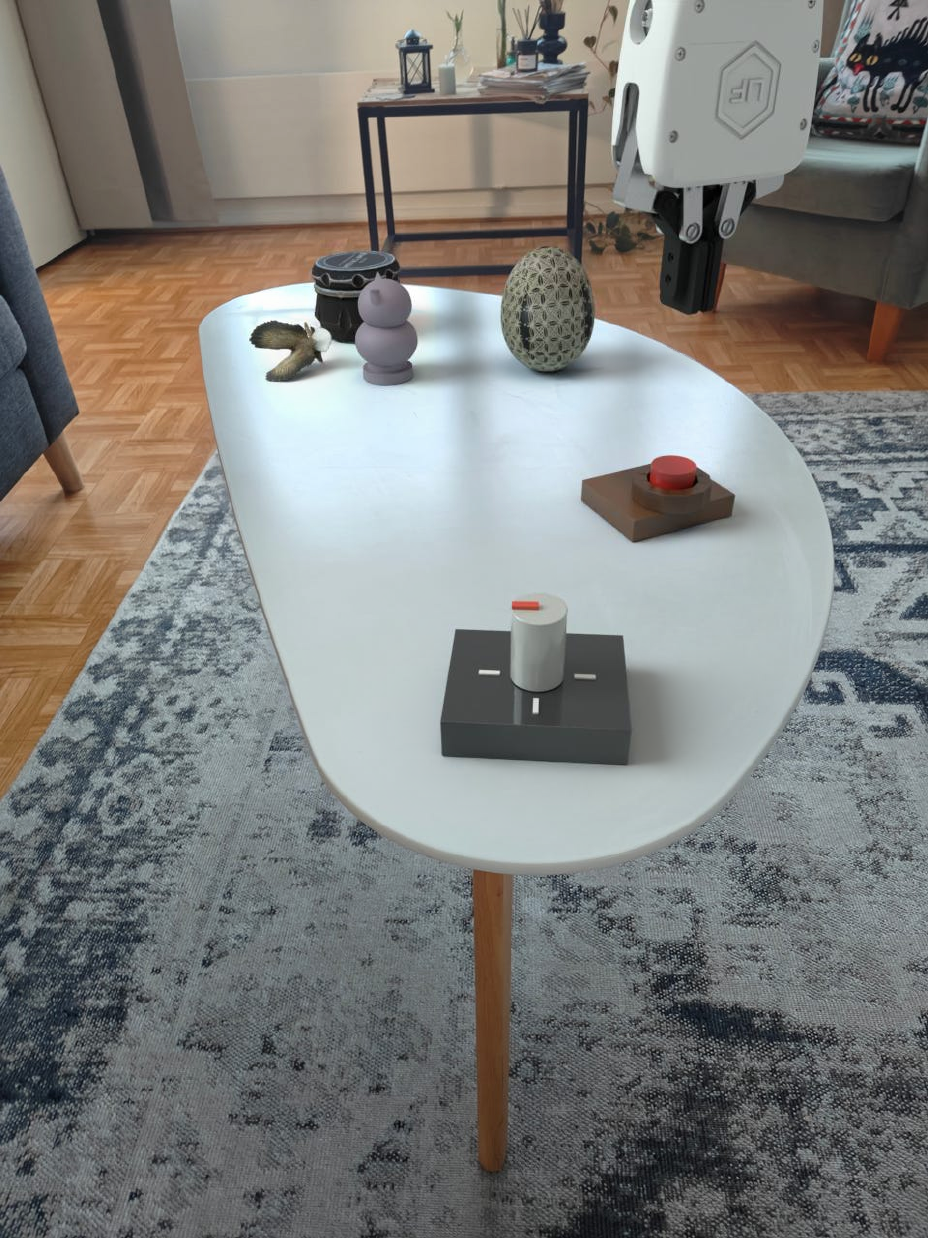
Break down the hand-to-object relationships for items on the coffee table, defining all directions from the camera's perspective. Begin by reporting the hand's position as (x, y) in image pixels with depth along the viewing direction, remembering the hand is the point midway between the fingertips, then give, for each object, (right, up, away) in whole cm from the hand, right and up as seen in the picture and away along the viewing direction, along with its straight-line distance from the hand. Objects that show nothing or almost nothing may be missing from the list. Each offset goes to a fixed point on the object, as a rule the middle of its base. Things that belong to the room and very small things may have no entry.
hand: (685, 306), depth 53 cm
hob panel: (-8, -25, +9) cm, 28 cm away
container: (-28, +23, +77) cm, 85 cm away
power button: (+6, -6, +28) cm, 30 cm away
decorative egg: (-3, +14, +63) cm, 64 cm away
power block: (+5, -8, +32) cm, 33 cm away
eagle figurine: (-35, +14, +64) cm, 75 cm away
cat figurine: (-23, +12, +62) cm, 67 cm away
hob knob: (-8, -22, +7) cm, 25 cm away
